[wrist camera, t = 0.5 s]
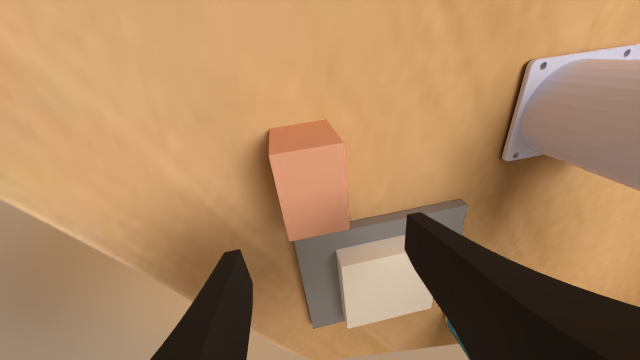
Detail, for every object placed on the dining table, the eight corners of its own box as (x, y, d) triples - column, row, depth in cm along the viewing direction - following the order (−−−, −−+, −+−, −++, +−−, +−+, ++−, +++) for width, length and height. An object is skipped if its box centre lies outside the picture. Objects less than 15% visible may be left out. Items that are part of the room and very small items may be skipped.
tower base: (460, 199, 23) (484, 218, 20) (442, 288, 29) (458, 311, 27) (292, 233, 21) (295, 258, 19) (311, 319, 28) (316, 348, 25)
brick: (325, 119, 17) (343, 142, 13) (333, 190, 20) (349, 229, 16) (269, 128, 17) (268, 155, 12) (285, 199, 20) (289, 241, 15)
